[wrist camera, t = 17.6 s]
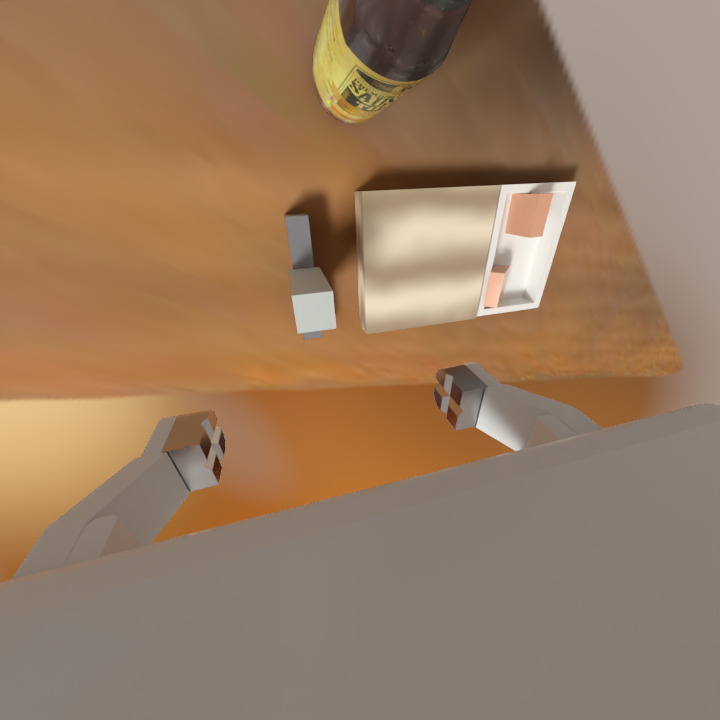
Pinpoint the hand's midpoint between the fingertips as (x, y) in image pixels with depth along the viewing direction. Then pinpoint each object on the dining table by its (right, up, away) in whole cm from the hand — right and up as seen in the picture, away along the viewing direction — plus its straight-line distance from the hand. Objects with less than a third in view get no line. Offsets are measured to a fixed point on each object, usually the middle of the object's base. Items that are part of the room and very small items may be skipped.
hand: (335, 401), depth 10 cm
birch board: (+7, +13, +22) cm, 27 cm away
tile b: (+17, +11, +24) cm, 31 cm away
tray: (+19, +15, +24) cm, 34 cm away
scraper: (-5, +11, +20) cm, 23 cm away
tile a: (+18, +17, +20) cm, 32 cm away
